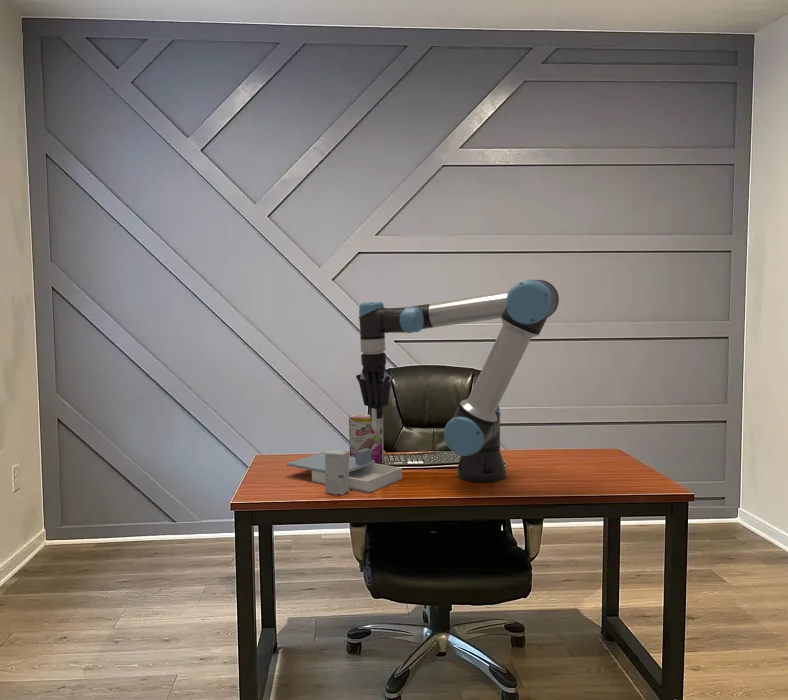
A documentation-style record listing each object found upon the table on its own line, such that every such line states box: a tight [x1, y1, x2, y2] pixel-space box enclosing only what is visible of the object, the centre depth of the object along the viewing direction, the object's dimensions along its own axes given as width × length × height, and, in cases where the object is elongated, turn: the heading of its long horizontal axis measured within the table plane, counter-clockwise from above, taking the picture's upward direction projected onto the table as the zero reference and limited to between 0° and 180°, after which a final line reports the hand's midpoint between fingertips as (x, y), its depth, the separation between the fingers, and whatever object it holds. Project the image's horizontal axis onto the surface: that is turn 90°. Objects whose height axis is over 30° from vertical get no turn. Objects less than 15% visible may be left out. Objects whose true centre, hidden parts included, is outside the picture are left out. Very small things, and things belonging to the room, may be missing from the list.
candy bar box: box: [348, 414, 385, 465], centre depth 234 cm, size 11×5×16 cm, turn 84°
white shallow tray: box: [311, 463, 403, 494], centre depth 215 cm, size 22×17×4 cm
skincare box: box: [324, 449, 350, 496], centre depth 202 cm, size 6×4×12 cm
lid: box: [286, 448, 375, 473], centre depth 220 cm, size 22×17×5 cm
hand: (376, 428), depth 214 cm, fingers closed
